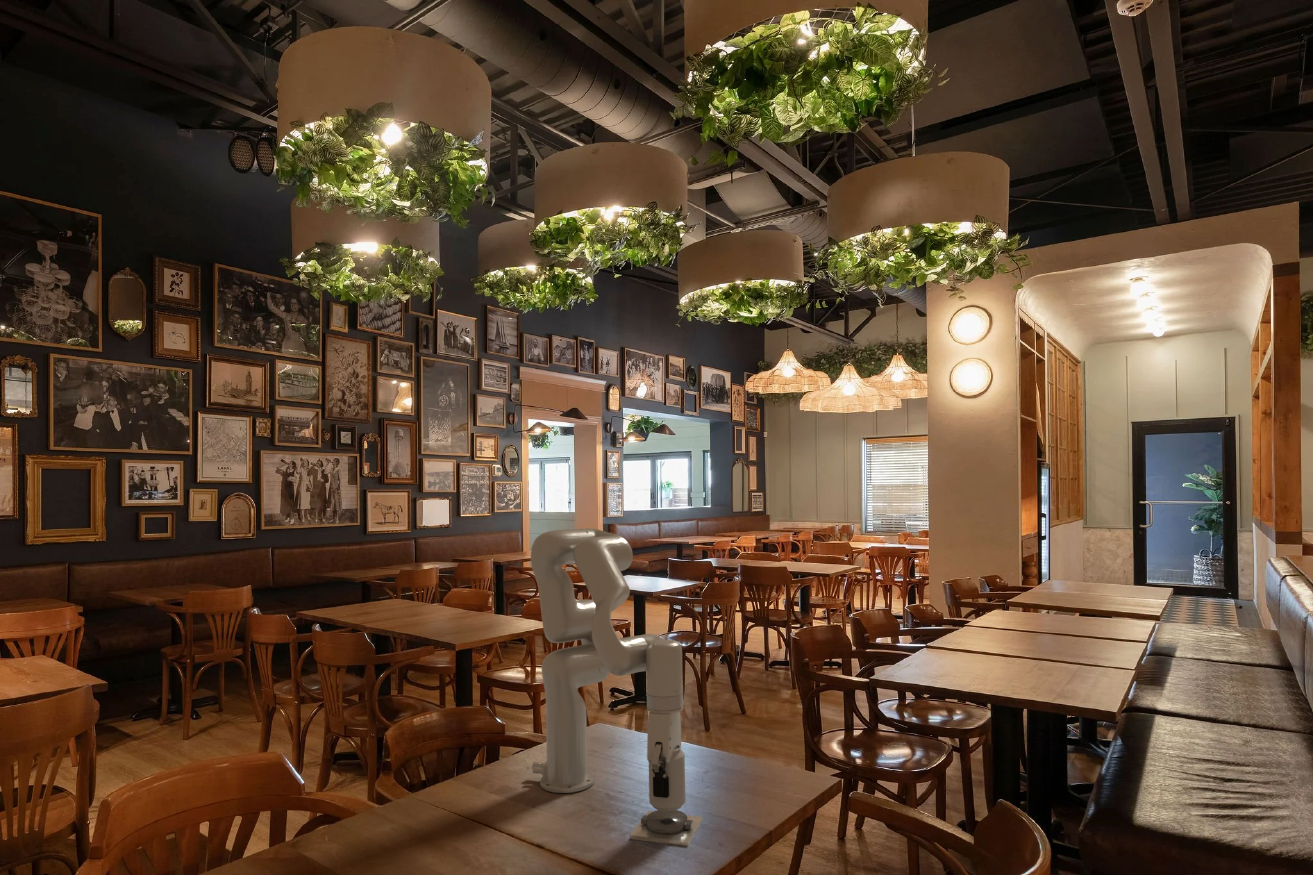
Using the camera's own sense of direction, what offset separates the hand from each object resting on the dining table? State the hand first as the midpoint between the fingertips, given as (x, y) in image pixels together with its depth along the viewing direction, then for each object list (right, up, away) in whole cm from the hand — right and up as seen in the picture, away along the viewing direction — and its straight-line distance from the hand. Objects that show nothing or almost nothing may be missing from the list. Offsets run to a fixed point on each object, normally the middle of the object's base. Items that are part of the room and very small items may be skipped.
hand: (666, 788), depth 162 cm
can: (0, -4, 0) cm, 4 cm away
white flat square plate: (0, -8, 0) cm, 8 cm away
